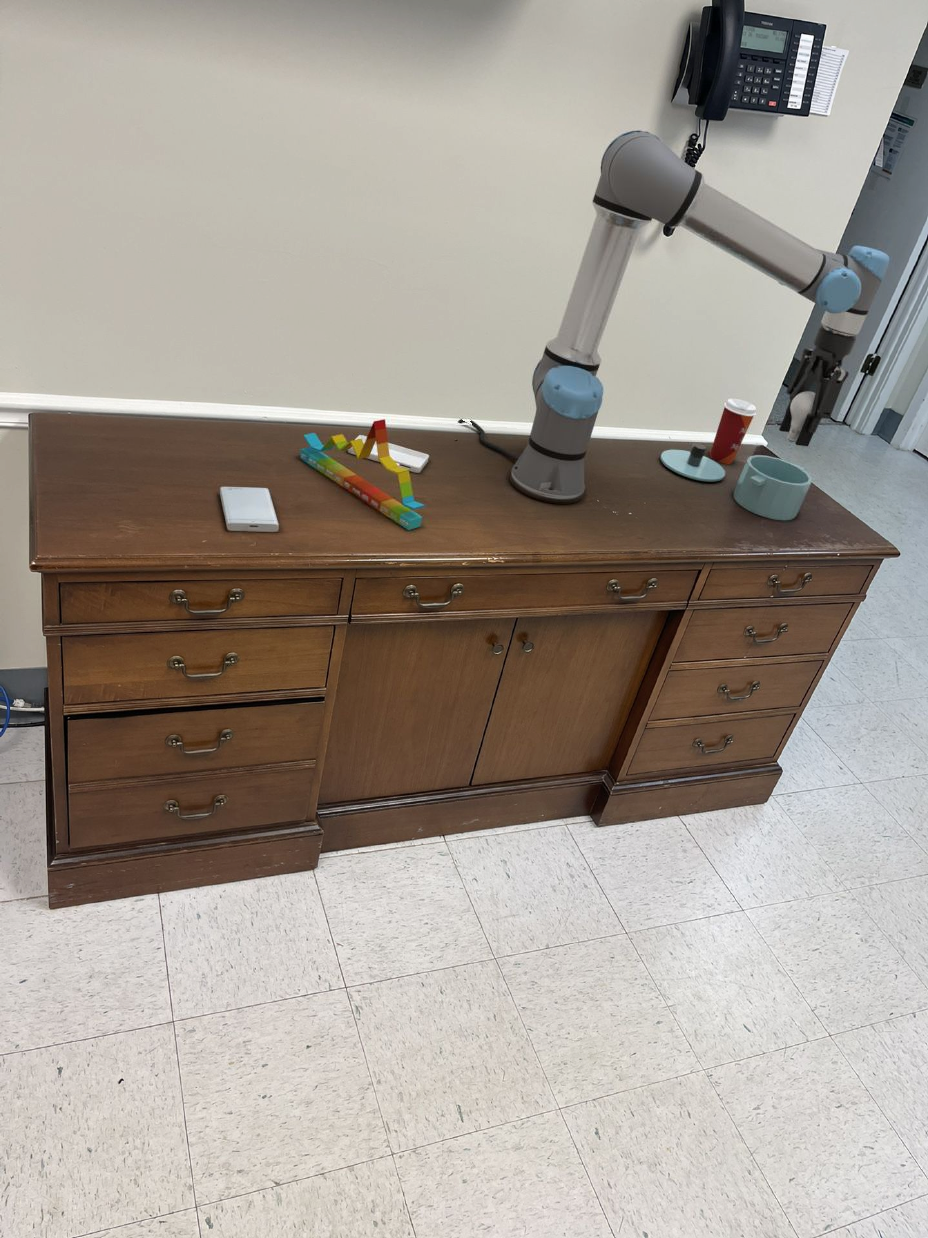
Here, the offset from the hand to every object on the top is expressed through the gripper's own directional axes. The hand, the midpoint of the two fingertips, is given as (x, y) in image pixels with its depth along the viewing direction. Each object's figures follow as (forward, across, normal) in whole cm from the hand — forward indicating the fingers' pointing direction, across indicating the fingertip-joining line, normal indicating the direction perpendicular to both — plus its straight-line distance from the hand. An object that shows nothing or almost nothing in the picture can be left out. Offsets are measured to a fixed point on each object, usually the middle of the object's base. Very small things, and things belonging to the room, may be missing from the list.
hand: (793, 437), depth 194 cm
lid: (+15, +16, +11) cm, 25 cm away
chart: (+16, -11, +92) cm, 94 cm away
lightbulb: (+1, 0, 0) cm, 1 cm away
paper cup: (+16, +23, 0) cm, 28 cm away
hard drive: (+16, -22, +112) cm, 115 cm away
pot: (+16, 0, 0) cm, 16 cm away
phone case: (+16, +6, +84) cm, 86 cm away
